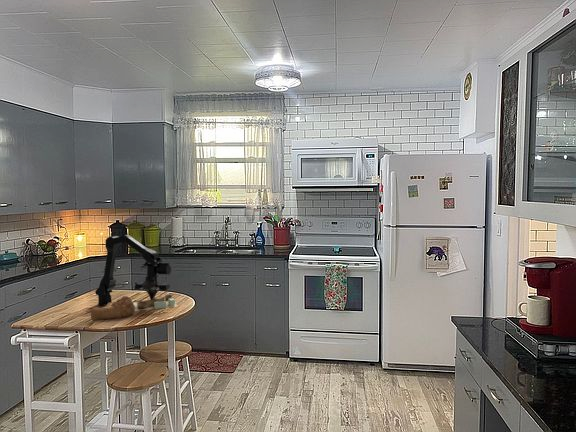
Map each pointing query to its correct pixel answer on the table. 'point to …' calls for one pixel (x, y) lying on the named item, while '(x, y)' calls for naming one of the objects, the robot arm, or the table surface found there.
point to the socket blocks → (164, 303)
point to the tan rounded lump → (114, 310)
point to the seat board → (153, 306)
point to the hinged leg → (148, 302)
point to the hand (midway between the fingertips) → (152, 301)
